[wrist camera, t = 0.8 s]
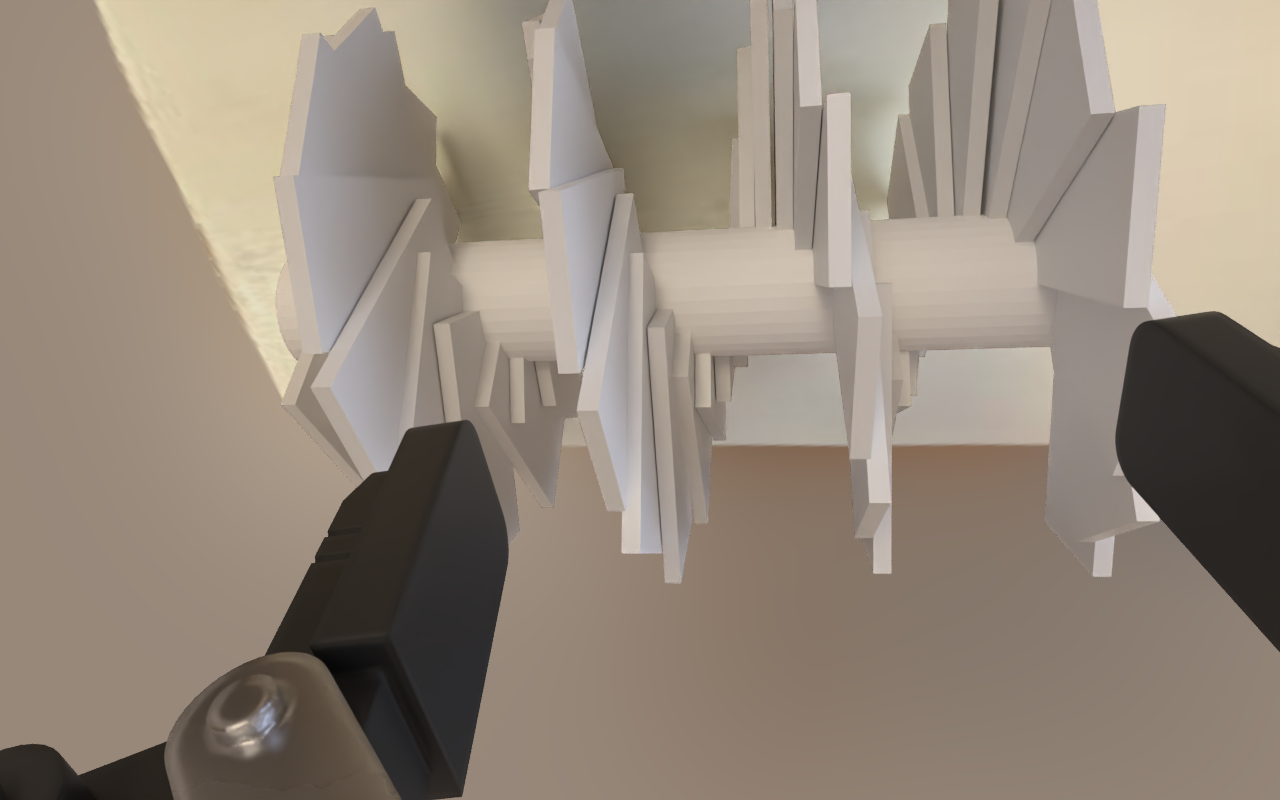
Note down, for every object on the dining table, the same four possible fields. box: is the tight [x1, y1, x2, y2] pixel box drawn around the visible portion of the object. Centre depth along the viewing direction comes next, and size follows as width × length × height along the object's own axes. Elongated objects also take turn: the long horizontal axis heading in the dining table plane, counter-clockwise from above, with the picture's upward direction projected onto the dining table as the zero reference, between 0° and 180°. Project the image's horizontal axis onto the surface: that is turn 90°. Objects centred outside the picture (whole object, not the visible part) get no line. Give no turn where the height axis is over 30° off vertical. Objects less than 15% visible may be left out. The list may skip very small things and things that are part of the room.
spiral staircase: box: [273, 0, 1177, 583], centre depth 25 cm, size 18×18×25 cm
